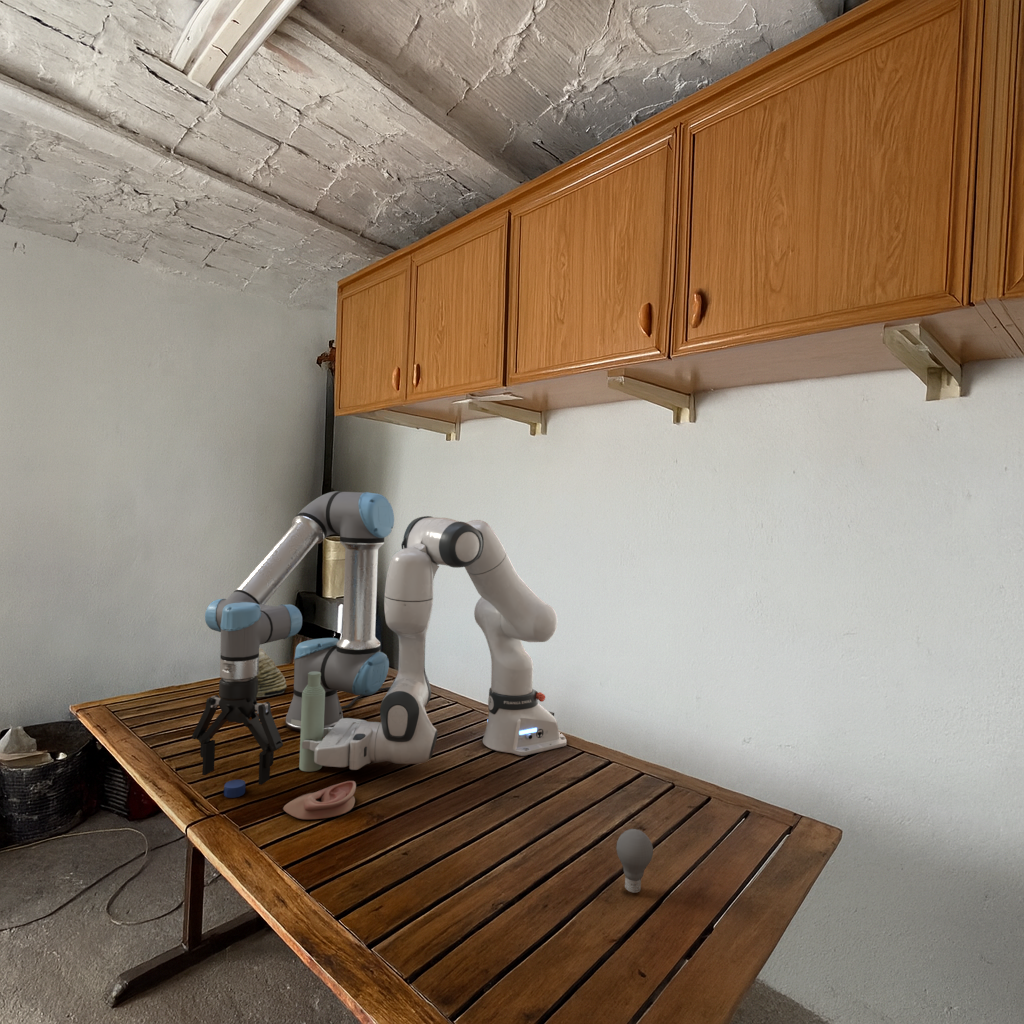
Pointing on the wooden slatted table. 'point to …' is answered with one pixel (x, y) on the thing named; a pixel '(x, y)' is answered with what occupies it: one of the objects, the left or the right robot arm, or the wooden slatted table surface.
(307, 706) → the bottle
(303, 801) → the anatomical model
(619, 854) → the light bulb
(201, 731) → the left robot arm
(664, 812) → the wooden slatted table surface
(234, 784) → the cap
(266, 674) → the fossil
